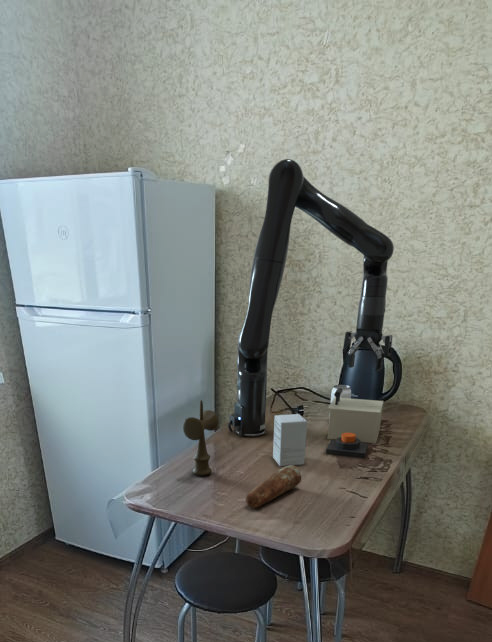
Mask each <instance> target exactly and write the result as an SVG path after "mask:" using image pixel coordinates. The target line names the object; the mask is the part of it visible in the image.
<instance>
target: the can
mask: <svg viewBox="0 0 492 642" xmlns="http://www.w3.org/2000/svg"><path fill="white" fill-rule="evenodd" d="M332 387H333V388H332V389H331V395H330V403H329V405H330V404H331V402H332V400H333V399H334V397H335V396H334V394H335V392H336V390H337V389H338V388H342V390H343V391H342V393H341V395H340V398H350V399H352V389H351V386H350V385H348V384H334V385H333V386H332ZM329 417H330V413H329V414H328V418H329Z"/></svg>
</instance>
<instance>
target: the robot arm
mask: <svg viewBox="0 0 492 642" xmlns="http://www.w3.org/2000/svg"><path fill="white" fill-rule="evenodd" d="M267 184H268V186H267V187H268V189H267V199H266V206H265V207H266V208H265V213H264V218H263V222H262V226H261V229H260V232H259V235H258V239H257V242H256V247H255V250H254V254H253V258H252V264H251V269H250V270H251V271H250V277H249V287H248V305H247V311H246V315H245V317H244V322H243V326H242V328H241V330H240V331H239V333H238V336H237V362H236V363H237V365H236V366H237V367H236V371H237V372H236V375H237V376H236V378H237V379H236V381H237V382H236V383H237V384H236V402H234V409H233V410H234V411H233V413H231V414H229V420H228V421H229V422H228V424H227V428H228V430H229V431H230V432H229V433H233V432H234V433H236V434H237V435H238V436H239V437H250V438H251V437H260V436H263V435H265V434H266V428H267V427H266V424H267V423H266V411H267V410H266V409H267V387H268V385H267V384H268V350H269V346H270V335H271V334H270V333H271V326H272V318H273V313H274V309H275V305H276V303H277V299H278V296H279V293H280V289H281V285H282V282H283V277H284V274H285V269H286V263H287V259H288V252H289V245H290V235H291V228H292V227H291V225H292V221H293V216H294V212H295V208H297V209H298V210H300V211H302V212H304V213H305V214H306V215H308V216H309V217H311V218H312V219H313V220H315V221H316V222H318V223H319V224H320V225H321V226H322V227H324V228H325V229H326V230H327V231H328V232H330V233H332V234H333V236H335V237H336V238H338V239H339V240H341V241H342V242H343V243H345V244H346V245H347V246H350V247H352V248H354V249H355V250H356V251H358V252H359V253H360V254H361V255H363V261H362V262H363V263H362V264H363V265H362V267H363V270H362V272H363V275H362V276H363V277H362V282H361V290H360V296H359V297H360V298H359V302H358V309H357V316H356V317H357V318H356V327H355V328H356V329H355V331H352V330H349V331H346V332H345V334H344V339H343V346H342V352H343V353H346V354H347V355H348V357H347V366H348V368H352V369H353V368H354V367H355V361H356V352H357V351H358V350H359V349H367V350H373V353H375V355H376V356H377V357H376V361H375V368H374V369H375V371H374V372H380V371H381V370H382V369H383V368H384V360H385V358H387V357H390V356H391V355H392V347H393V335H392V334H387V335H386V334H385V335H384V334H383V327H384V320H385V313H386V304H387V303H386V302H387V300H386V299H387V292H388V291H387V290H388V274H387V270H388V262H389V260H391V258H392V256H393V253H394V250H395V246H394V243H393V241H392V239H391V238H390V237H389V236H387V235H386V234H385V233H383V232H382V231H380V230H379V229H376V227H373V226H371V225H370V224H368V223H367V222H366V221H365V220H364V219H362V218H361V217H360V216H359V215H358V214H356V213H355V212H354V211H352V210H351V209H349V208H348V207H346V206H345V205H343V204H342V203H340V202H338V201H336V200H335V199H333V198H331V197H330V196H328V195H327V194H324V193H323V192H322V191H320V190H319V189H317V188H316V187H315V186H314V185H313V184H312V183H311V182H310V181H309V180H308V179H307V178H306V177H305V176H304V172H303V169H302V167H301V165H300V164H299V163H298V162H297V161H296V160H294V159H292V158H291V159H290V158H285V159H281V160H280V161H278V162H276V163H275V164H274V165H273V166H272V168H271V169H270V172H269V174H268V182H267ZM353 339H355V341H356V342H354V344H353V345H352V340H353ZM382 341H383V342H382ZM381 342H382V343H383V344H384V348H383V347H382V344H381ZM231 426H233V429H232V427H231Z"/></svg>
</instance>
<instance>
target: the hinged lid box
mask: <svg viewBox="0 0 492 642" xmlns="http://www.w3.org/2000/svg"><path fill="white" fill-rule="evenodd" d="M383 407H384V405H383V406H382V409H381V413H380V415H374V414H362V413H350V412H339V411H329V414H330V417H329V416H328V428H327V429H328V430H327V439H328V440H336V439H337V438H339V437H342V433H354V434H355V435H356V438H358V439H359V440H360V443H368V444H377V441H378V438H379V435H380V431H381V425H382V417H383V416H382V415H383V409H384V408H383Z"/></svg>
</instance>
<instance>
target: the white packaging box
mask: <svg viewBox="0 0 492 642" xmlns="http://www.w3.org/2000/svg"><path fill="white" fill-rule="evenodd" d="M307 427H308V421H307V420H306V419H305V417H303V416H302V415H301V414H300V413H295V414H294V413H293V414H277V415H275V414H274V424H273V448H272V458H273V459H274V461H275V462H276V464H277V465H278V466H279V467H286V466H290V465H294V466H301V465H305V461H306V444H307V432H308V428H307Z"/></svg>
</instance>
